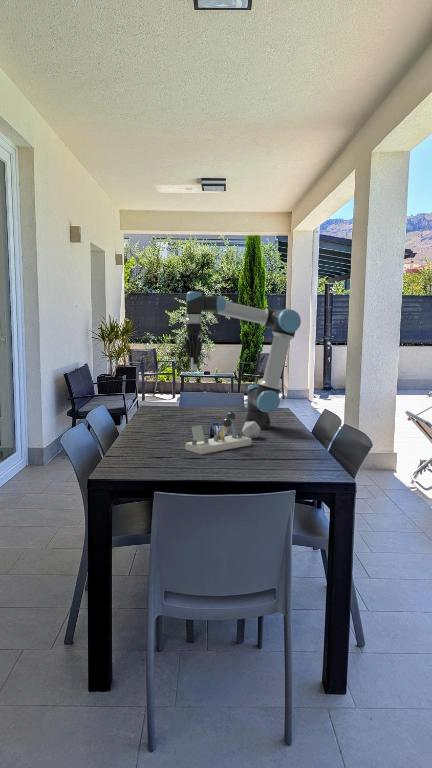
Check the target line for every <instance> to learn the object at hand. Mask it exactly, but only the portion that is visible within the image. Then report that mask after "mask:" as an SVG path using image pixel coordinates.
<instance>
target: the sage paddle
mask: <svg viewBox="0 0 432 768" xmlns="http://www.w3.org/2000/svg"><path fill="white" fill-rule="evenodd" d="M190 429H191V430H192V431H191V433H192V437H193V439H196V440H197V442H201V441H205V438H204V437H205V434H204V431H203V425H196V426H195V425H193V426H191V428H190Z"/></svg>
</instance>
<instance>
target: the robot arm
mask: <svg viewBox="0 0 432 768" xmlns="http://www.w3.org/2000/svg"><path fill="white" fill-rule="evenodd" d="M185 303H186V319H185V320H186V324H185V326H186V329H185V330H186V331H187V334H186V335H187V336H184V342H185V346H186V354H187V356H188V357H189V358H190V361H189V363H190V371H193V372H194V371H198V369H197V368H198V358H199V357H201V353H202V349H203V348H202V345H203V342H204V340H205V338H204V337H202V336H201V331H202V320H203V319H202V315H203V314H202V312H205V313H210V314H211V313H212V314H216V315H219V316H220V315H221V316H226V317H231V318H234V319H239V320H243V321H247V322H251V323H255V324H260V325H261V326H262V327H265V328H269V329H271V333H272V335H273V338H272V342H271V346H270V351H269V354H268V357H267V361H266V365H265V369H264V373H263V377H262V381H260V382H259V383H258V384H249V385H248V386H247V390H246V392H247V399H246V401H247V404H246V405H247V406H246V414H245V418H244V420H243V425H244V424H245V422H256V423H257V424H258V426H259V427H260V428H261V429H260V430H266V429H271V428H272V420H271V416H270V413H273V412H275V411H276V410H277V409H278V408H279V407H280V403H281V398H280V392H281V388H280V385H279V384H280V381H281V376H282V373H283V368H284V364H285V362H286V361H285V360H286V357H287V353H288V350H289V347H290V342H291V341H292V340H293V339H294V338H295V336H296V335H295V334H296V332H297V331H298V329H299V328H300V327H301V324H302V320H301V316H300V314H299V313H298V312H297V311H295V310H294V309H291V308H285V309H271V308H265V309H261V308H258V307H253V306H249V305H248V306H247V305H243V304H240V303H236V302H232V301H227V299H226V298H225V297H224V296H220V295H215V296H214V295H202V292H201V291H188V292H187V293H186V300H185Z"/></svg>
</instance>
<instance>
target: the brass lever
mask: <svg viewBox="0 0 432 768" xmlns="http://www.w3.org/2000/svg"><path fill="white" fill-rule="evenodd" d="M231 425H232V421H231V420H230V419H229V418H227V417H226V418H225V419H223V420H222V427H221V430H220V431H219V433H218V435H217V436H218V440H223V438H224V436H226V433H227V431H228V429H229V428H231Z"/></svg>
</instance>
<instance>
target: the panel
mask: <svg viewBox="0 0 432 768" xmlns="http://www.w3.org/2000/svg"><path fill="white" fill-rule="evenodd" d="M238 433H239V435H238V436H236V433H233V432H232V433H231V435H227V436H226V435H225V436H224V438H223V440H218V436H219V435H213V437H212V438H209V437H206V436H204V438H205V441H201V442H197V440H196V439H194V438H192V439H191V441H189V442H185V445H184V446H185V448H184V450H187V451H188V452H191V453H196V454H199V455H204V454H209V453H215V452H220V451H225V450H226V451H227V450H231V449H236V448H241V447H247V446H248V447H249V446H252V438H247V437H246V436H243V432H242V431H238Z"/></svg>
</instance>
